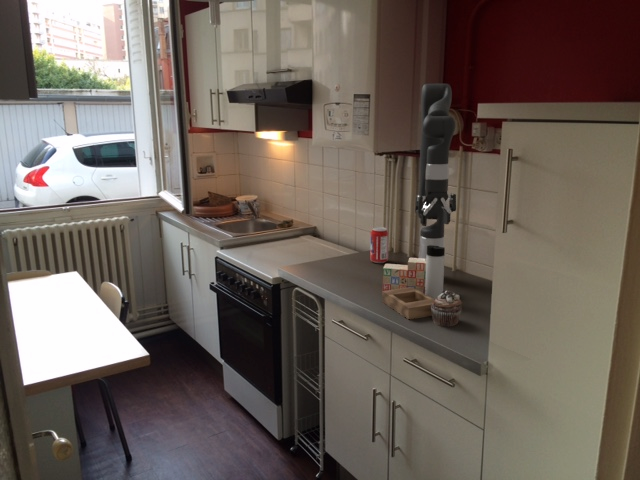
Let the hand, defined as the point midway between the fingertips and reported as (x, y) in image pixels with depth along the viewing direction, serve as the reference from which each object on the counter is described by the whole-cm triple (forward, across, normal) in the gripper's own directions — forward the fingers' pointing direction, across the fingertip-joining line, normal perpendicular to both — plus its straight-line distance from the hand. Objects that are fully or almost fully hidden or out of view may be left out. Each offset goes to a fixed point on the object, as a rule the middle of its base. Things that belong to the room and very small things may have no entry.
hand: (435, 224), depth 187 cm
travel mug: (+28, -2, -3) cm, 28 cm away
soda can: (+27, -3, -54) cm, 61 cm away
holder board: (+28, +10, +2) cm, 30 cm away
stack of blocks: (+28, +1, -14) cm, 32 cm away
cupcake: (+29, +4, +16) cm, 33 cm away
